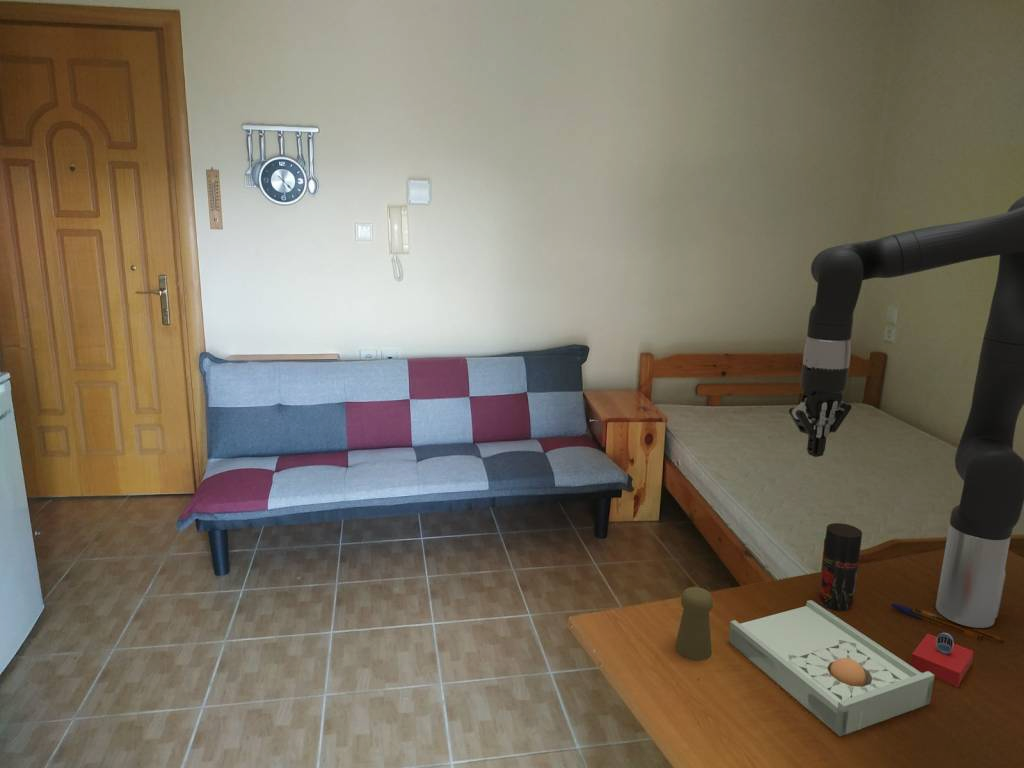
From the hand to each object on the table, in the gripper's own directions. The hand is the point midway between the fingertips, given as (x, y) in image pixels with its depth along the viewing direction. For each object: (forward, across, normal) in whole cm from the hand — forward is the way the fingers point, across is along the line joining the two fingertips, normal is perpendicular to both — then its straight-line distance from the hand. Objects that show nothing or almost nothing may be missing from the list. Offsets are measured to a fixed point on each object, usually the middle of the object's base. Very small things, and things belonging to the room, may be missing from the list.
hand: (815, 455), depth 127 cm
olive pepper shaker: (+29, +29, +6) cm, 42 cm away
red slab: (+30, -6, +25) cm, 39 cm away
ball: (+26, +13, +23) cm, 38 cm away
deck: (+29, +13, +18) cm, 37 cm away
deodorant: (+29, -5, +4) cm, 30 cm away
